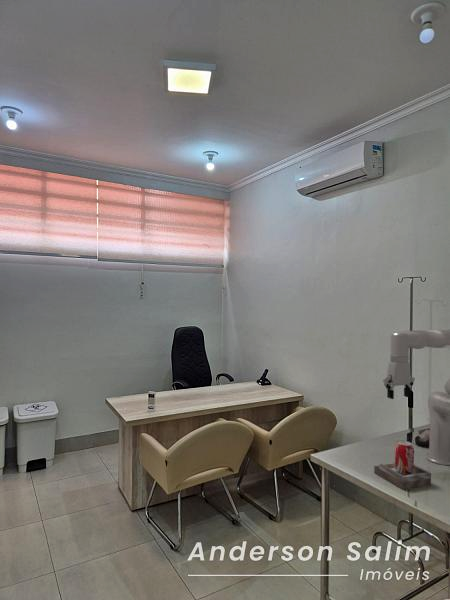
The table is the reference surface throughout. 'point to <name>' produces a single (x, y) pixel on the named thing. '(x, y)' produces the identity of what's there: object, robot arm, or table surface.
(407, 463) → the soda can
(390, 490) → the table surface
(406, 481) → the frame
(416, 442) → the caster wheel
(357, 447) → the table surface
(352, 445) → the table surface
